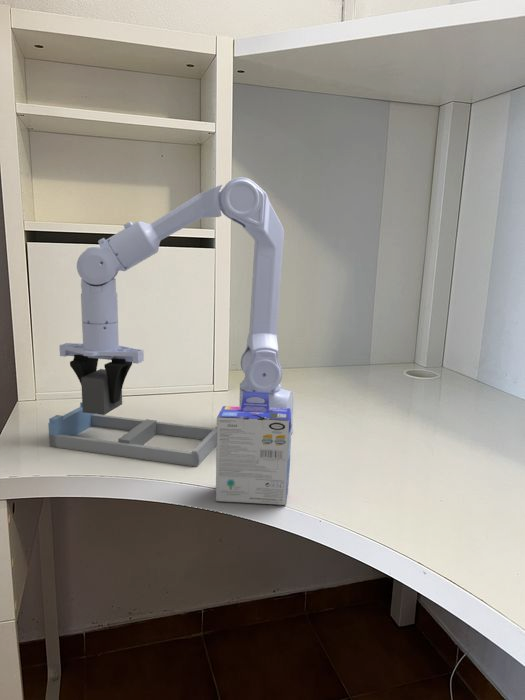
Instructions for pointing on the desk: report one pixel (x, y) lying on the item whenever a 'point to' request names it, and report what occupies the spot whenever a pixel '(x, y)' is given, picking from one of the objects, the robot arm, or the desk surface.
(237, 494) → the ink cartridge box
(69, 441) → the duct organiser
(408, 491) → the desk surface
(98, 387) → the dark grey block
